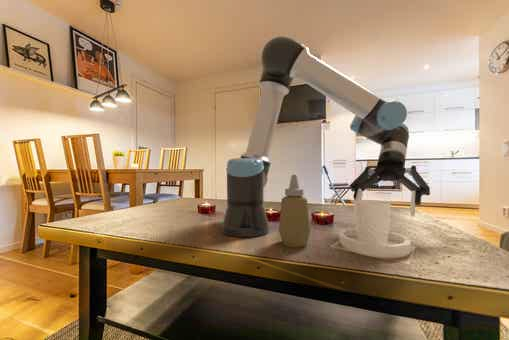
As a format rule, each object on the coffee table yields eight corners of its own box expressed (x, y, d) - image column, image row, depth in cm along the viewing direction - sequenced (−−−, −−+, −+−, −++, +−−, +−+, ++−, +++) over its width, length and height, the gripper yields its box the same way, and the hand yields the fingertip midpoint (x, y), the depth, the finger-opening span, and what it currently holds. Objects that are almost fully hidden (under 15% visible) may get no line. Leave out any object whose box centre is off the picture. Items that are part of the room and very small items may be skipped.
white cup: (396, 249, 50) (396, 205, 50) (359, 247, 51) (358, 204, 51) (383, 239, 57) (383, 200, 57) (351, 237, 59) (350, 199, 59)
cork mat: (329, 248, 54) (329, 246, 54) (348, 235, 64) (348, 234, 64) (409, 266, 43) (409, 264, 43) (415, 247, 54) (415, 246, 54)
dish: (330, 247, 53) (330, 237, 53) (350, 234, 65) (350, 225, 65) (406, 264, 43) (405, 251, 43) (413, 245, 55) (413, 234, 55)
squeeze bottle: (316, 244, 57) (315, 174, 57) (301, 253, 51) (300, 175, 51) (288, 238, 62) (288, 174, 63) (272, 245, 56) (272, 175, 56)
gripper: (441, 165, 66) (441, 225, 55) (354, 167, 83) (340, 213, 71) (441, 146, 62) (440, 206, 51) (349, 152, 79) (333, 198, 67)
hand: (382, 210), depth 61 cm, fingers open, 13 cm apart
